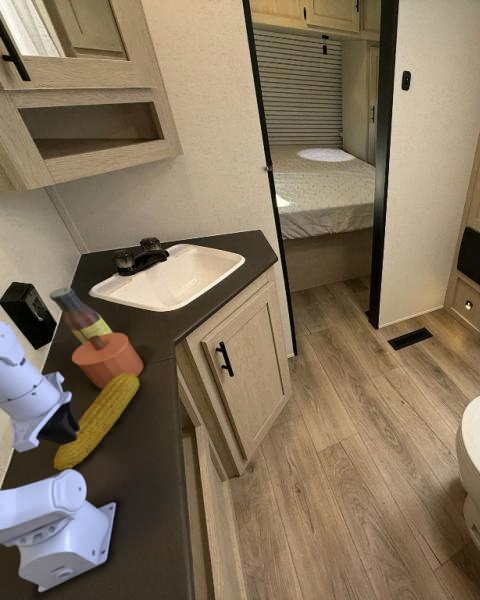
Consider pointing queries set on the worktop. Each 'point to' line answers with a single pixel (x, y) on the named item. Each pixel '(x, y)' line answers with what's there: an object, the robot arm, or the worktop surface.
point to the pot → (114, 367)
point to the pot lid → (100, 349)
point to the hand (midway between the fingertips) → (71, 436)
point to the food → (98, 420)
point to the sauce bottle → (79, 315)
